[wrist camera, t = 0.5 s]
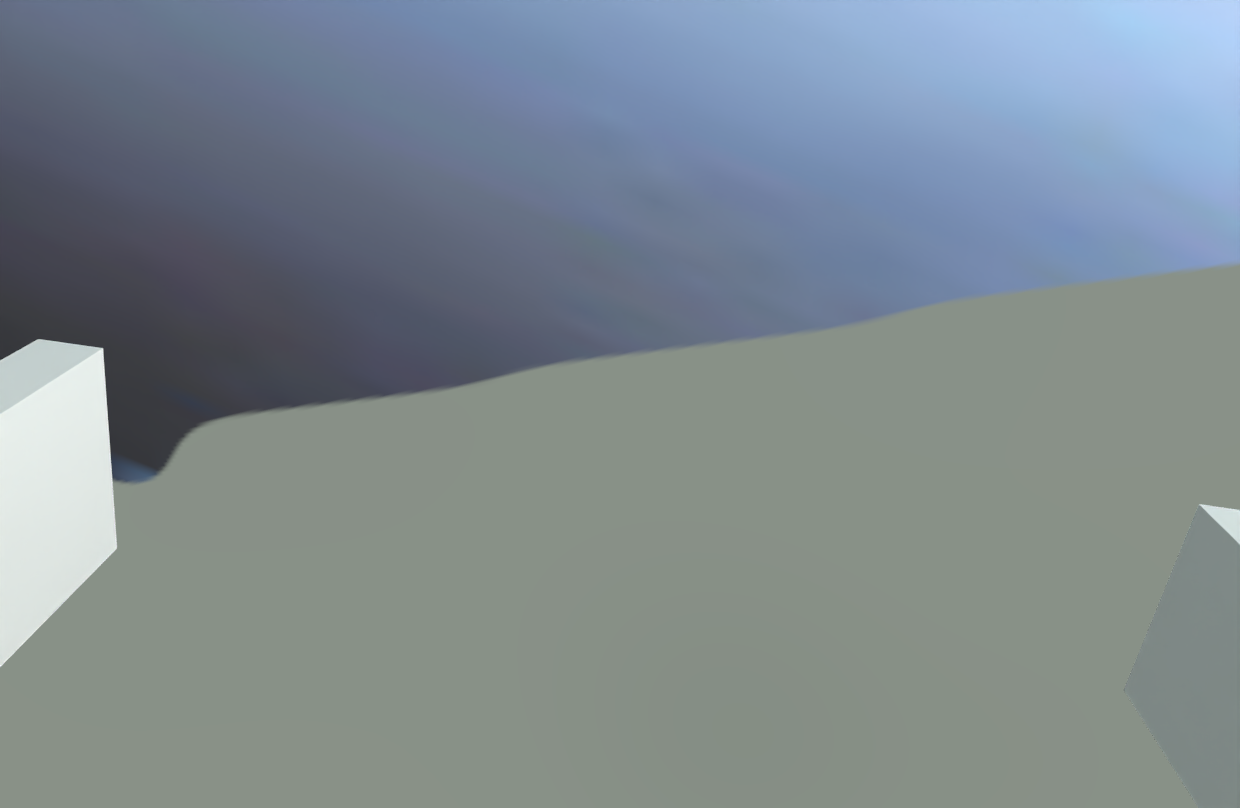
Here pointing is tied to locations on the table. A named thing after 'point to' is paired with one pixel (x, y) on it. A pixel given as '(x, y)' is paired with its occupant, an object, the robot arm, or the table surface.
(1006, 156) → the table surface
